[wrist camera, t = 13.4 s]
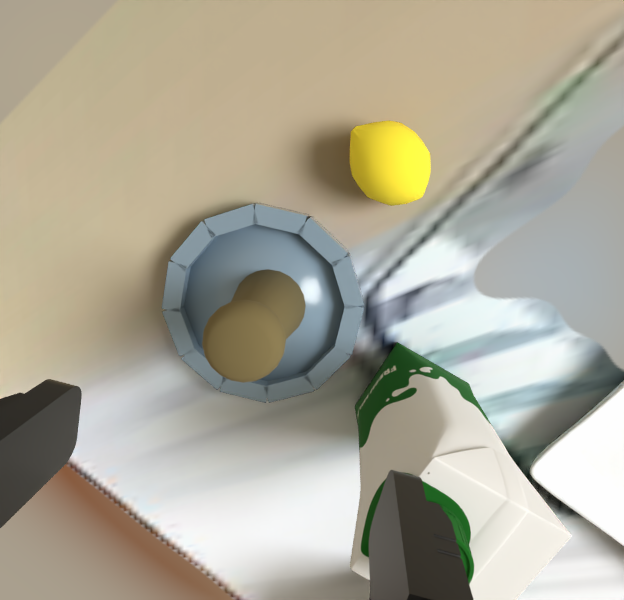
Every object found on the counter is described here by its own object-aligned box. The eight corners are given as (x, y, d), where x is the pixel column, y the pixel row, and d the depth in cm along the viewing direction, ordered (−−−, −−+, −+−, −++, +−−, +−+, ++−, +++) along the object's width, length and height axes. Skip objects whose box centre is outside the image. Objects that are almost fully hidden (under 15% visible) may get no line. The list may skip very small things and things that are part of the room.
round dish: (187, 186, 37) (180, 186, 35) (381, 231, 37) (383, 233, 35) (160, 367, 41) (151, 374, 39) (335, 409, 41) (334, 419, 39)
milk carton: (393, 327, 38) (438, 467, 19) (485, 380, 39) (620, 570, 19) (340, 409, 41) (331, 610, 21) (427, 459, 41) (498, 700, 22)
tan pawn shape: (225, 327, 39) (177, 379, 28) (244, 259, 37) (202, 287, 27) (293, 349, 39) (272, 410, 28) (315, 282, 37) (301, 319, 27)
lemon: (438, 167, 36) (461, 171, 31) (388, 218, 37) (402, 230, 32) (375, 100, 34) (388, 92, 29) (325, 156, 35) (329, 158, 30)
